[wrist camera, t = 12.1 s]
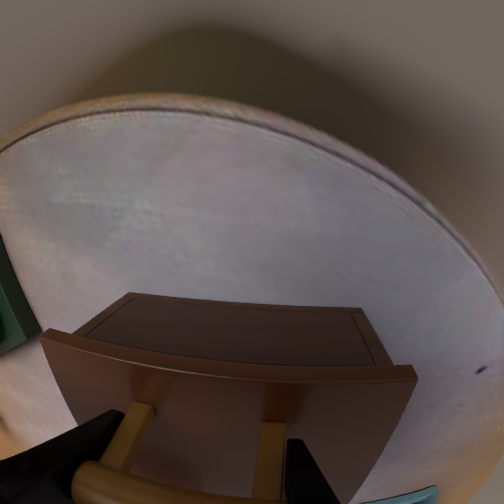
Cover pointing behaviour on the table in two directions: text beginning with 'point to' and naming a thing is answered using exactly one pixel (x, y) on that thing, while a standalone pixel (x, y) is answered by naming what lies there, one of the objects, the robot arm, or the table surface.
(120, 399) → the lid
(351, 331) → the chest
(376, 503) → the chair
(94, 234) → the table surface
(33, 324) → the base
